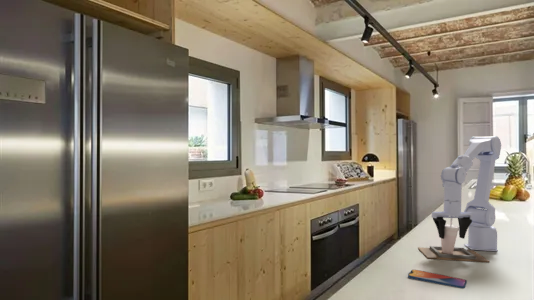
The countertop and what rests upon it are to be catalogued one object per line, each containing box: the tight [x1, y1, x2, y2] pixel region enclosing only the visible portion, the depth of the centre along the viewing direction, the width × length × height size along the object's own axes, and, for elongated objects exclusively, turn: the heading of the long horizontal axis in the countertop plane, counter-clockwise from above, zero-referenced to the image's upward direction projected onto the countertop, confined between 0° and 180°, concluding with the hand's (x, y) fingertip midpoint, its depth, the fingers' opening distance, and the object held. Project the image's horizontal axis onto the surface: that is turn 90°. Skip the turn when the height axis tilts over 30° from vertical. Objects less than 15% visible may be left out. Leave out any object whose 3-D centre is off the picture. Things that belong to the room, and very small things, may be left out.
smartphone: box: [407, 269, 467, 289], centre depth 111 cm, size 7×15×1 cm, turn 58°
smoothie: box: [440, 218, 459, 254], centre depth 139 cm, size 6×6×14 cm
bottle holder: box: [417, 245, 490, 263], centre depth 138 cm, size 20×14×2 cm
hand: (451, 237), depth 138 cm, fingers open, 7 cm apart
